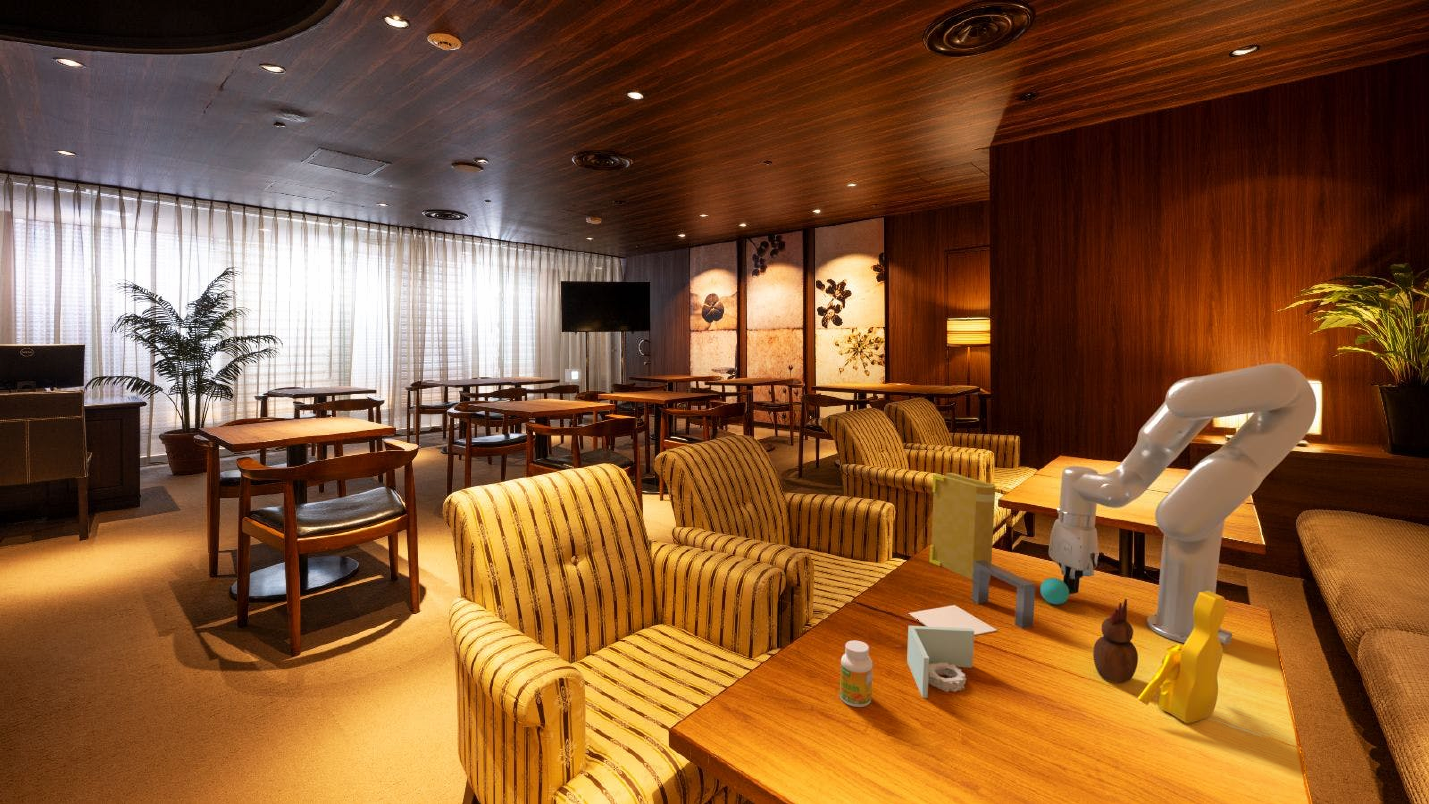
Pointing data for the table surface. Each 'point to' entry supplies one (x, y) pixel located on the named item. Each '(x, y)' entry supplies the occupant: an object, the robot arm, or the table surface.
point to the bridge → (1023, 586)
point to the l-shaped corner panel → (939, 656)
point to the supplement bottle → (856, 674)
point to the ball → (1054, 591)
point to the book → (961, 523)
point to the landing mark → (951, 619)
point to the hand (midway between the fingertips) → (1070, 592)
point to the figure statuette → (1192, 666)
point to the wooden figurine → (1116, 648)
